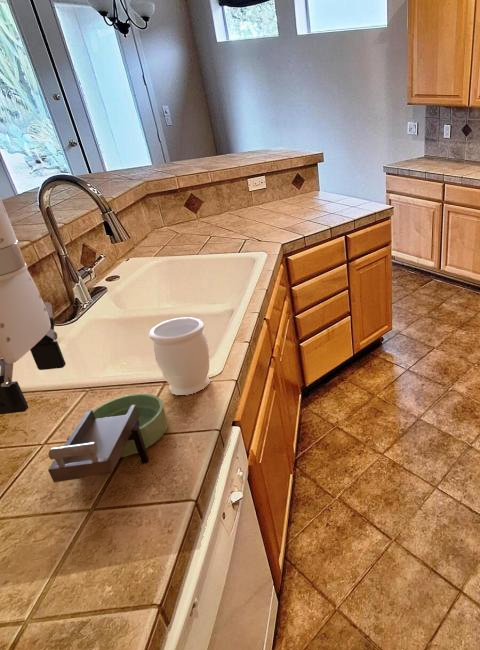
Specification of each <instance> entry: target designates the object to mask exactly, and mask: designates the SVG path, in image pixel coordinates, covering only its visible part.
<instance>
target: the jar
mask: <svg viewBox="0 0 480 650" xmlns="http://www.w3.org/2000/svg"><path fill="white" fill-rule="evenodd" d="M204 328H205V324H204V321H203V320H202V319H201V318H199V317H193V316H182V317H174V318H171V319H167V320H164V321H162V322H160V323H158V324H156V325H154V326H153V327H151V329H150V330H149V333H148V335H149V338H150V340H152V341H153V354H154V359H155V362H156V364H157V366H158V368H159V371H160V372H161V374H162V377H163V378H164V380H165V381H166V382H167V384H169V392H170V393H171V394H173V395H174V394H175V396H178V395H186V396H189V395H188V394H192V395H194V394H193V393H195V394H197V393H196V392H198V391H200V390H202V389H203V390H205V389H206V388H207V387H208V386H209V385H210V383H211V378H210V379H209V378H208V377H207V375H208V376H209V372H210V345H209V343H208V339H207V337H206V334H205V332H204V330H205V329H204ZM209 382H210V383H209ZM208 384H209V385H208ZM207 385H208V386H207ZM206 386H207V387H206ZM205 387H206V388H205ZM204 388H205V389H204ZM203 390H202V391H203ZM200 392H201V391H200ZM198 393H199V392H198Z"/></svg>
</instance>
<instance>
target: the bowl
mask: <svg viewBox="0 0 480 650" xmlns="http://www.w3.org/2000/svg"><path fill="white" fill-rule="evenodd" d="M131 405H136V407H137V410H138V413H139V418H138V420H139V429H140V432H141V435H142V438H143V441H144V444H145V448H146V449H147V448H150V447H151V446H152V445H154V444H155V443H156V442H158V441H159V440H160V439H161V438H162V437H163V436H164V434H165V433H166V431H167V429H168V426H169V421H168V416H167V412H166V410H165V405H164V401H163V400H162V399H161V398H160V397H159V396H157V395H155V394H151V393H142V392H141V393H140V392H139V393H132V394H126V395H123V396H118V397H116V398H113V399H110V400H108V401H106V402H104V403H102V404H100V405H99V406H97V407H95V408H93V409H92V411H93V414H94V416H95V419H98V418H106V417H114V416H122V415H126V414H127V412H128V410H129V408H130V406H131ZM131 434H132V433H131ZM134 454H138V451H137V448H136V445H135V442H134V440H128V441H127V443H126V445H125V447H124V449H123V451H122V453H121V455H120V457H119V459H120V458H124V457H125V458H126V457H128V456H129V457H130V456H131V455H134Z"/></svg>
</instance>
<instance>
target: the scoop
mask: <svg viewBox="0 0 480 650" xmlns="http://www.w3.org/2000/svg"><path fill="white" fill-rule="evenodd" d="M138 418H139V413H138V410H137V407H136V405H131V406H130V408H129V410H128V412H127V414H126V415H122V416H114V417H106V418H98V419H95V416H94V414H93V409H88V410H86V411H85V413H84V414H83V416H82V418H81V419H80V420H79V422H78V423H77V425H76V427H75V428H74V430H73V431H72V433H71V434H70V435H71V436H70V435H69V436H70V437H69V436H68V437H69V439H68V440H67V439H66V442H65V443H64V445H62V446H57V447H52V448H50V449H49V451H48V457H49V460H53V461H52V463H51V464H50V466H49V467H48V469H47V471H48V473H49V475H50V477H51V479H52V482H53V483H60V482H66V481H73V480H80V479H86V478H93V477H99V476H105V475H112V473H113V472H114V470H115V467H116V465H117V464H118V461H119V460H120V458H121V457H120V455H121V453H122V451H123V449H124V447H125V445H126V443H127V441H128V439H129V436H130V434H131V430H132V428H133V427H134V426H135V424H136V422H137V420H138ZM119 457H120V458H119Z"/></svg>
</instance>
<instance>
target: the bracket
mask: <svg viewBox="0 0 480 650" xmlns="http://www.w3.org/2000/svg"><path fill="white" fill-rule="evenodd" d="M131 433H132V434H130V436H129V439H128V440H134V442H135V445H136V448H137V451H138V453H137V454H138V458H139V460H140V463H141V464H142V465H143V464H148V463H149V460H150V458H149V457H150V456H149V453H148V451H147V448H145V444H144V441H143V438H142V435H141V432H140V429H139V426H138V427H133V428H132V430H131ZM70 436H71V434H70V435H68V436H67V438H66V441H67V440H68V439H69V437H70Z"/></svg>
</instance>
